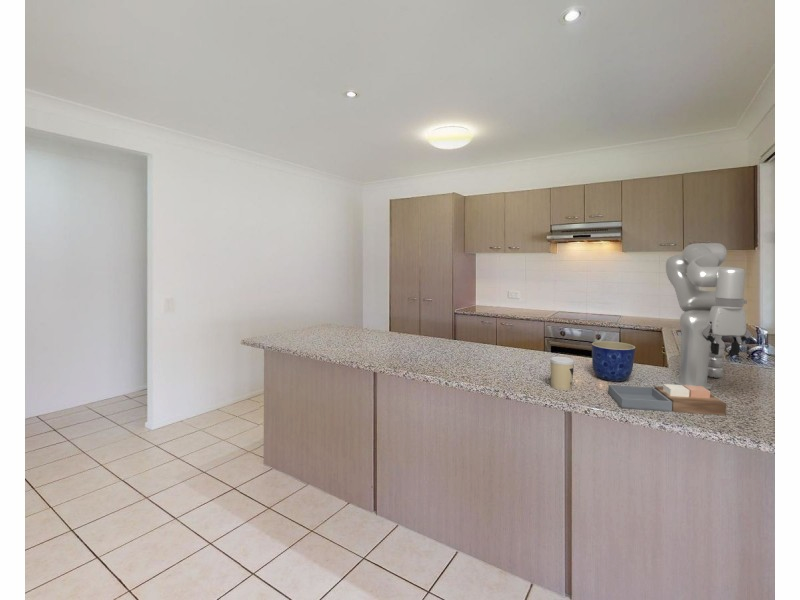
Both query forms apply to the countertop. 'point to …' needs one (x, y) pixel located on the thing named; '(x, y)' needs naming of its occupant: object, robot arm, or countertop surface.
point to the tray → (639, 398)
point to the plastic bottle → (716, 360)
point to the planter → (612, 360)
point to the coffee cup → (561, 372)
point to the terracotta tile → (698, 391)
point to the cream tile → (676, 390)
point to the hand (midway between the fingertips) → (724, 353)
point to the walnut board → (695, 404)
